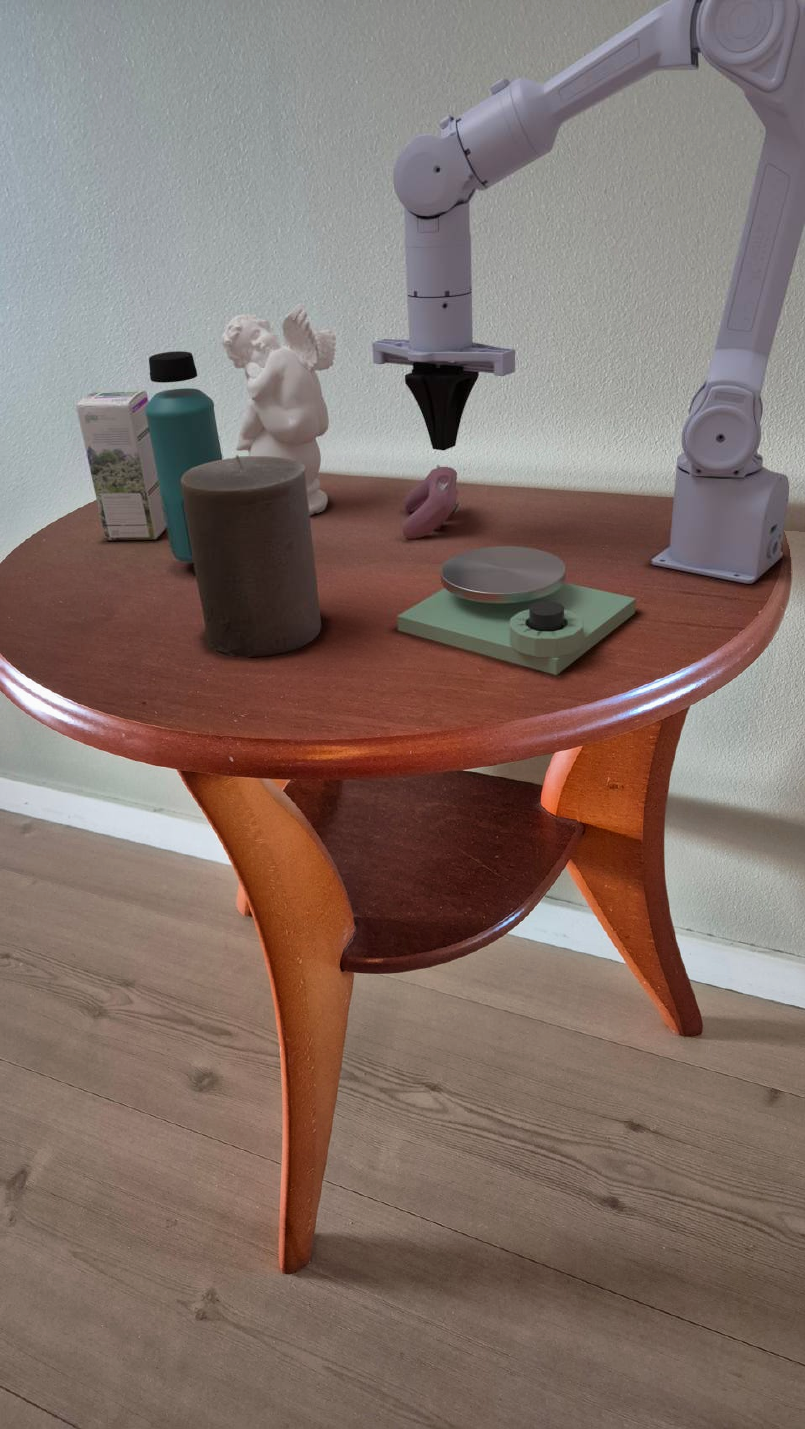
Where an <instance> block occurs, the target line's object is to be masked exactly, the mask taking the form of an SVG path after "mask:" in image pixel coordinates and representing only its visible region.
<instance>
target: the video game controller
mask: <svg viewBox="0 0 805 1429" xmlns="http://www.w3.org/2000/svg"><path fill="white" fill-rule="evenodd" d="M457 480H458V472H457V470H455V469H454V468H452V467H451V466H440V464H437V465H436V468H433V469H431V470H430V471H429V473H428V474H427V476H426V477H424V479H423V480H422V481H421V482H420V483H419V484H417V485H416V486H415V487H413V488H412V489H411V490H410V491H408V493H407V494H406V496H405V498H404V500H403V507H404V509H405V511H407V512H408V513H411V514H410V515H409V516H408V517H407V518H406V519H405V521H404V523H403V525H402V529H401V530H402V534H403V535H404V537H405V538H406V539H408V540H416V539H419V538H423V537H426V536H428V535H429V534H430V533H432V532H433V531H435V530H436V531H439V530H440V528H441V527H442V526H443V523H444V522H446V521H447V520H448V519H449V517H450V516H451V513H452V512H453V514H454V515H455V514H456V513H457V512H458V511H459V510H460V506H461V505H460V501H458V502H457V498H458V495H459V490H458V488H456V487H457Z"/></svg>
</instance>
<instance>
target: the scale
mask: <svg viewBox="0 0 805 1429" xmlns="http://www.w3.org/2000/svg"><path fill="white" fill-rule="evenodd" d="M542 601H552V602H557V603H559V604H561V605H563V606H564V627H563V629H561V630H557V631H553V632H542V631H536V630H532V629H530V627H529V608H530V606H531V605H532V604H534V603H537V602H542ZM636 606H637V598H636V597H631V596H627V595H623V594H619V593H615V592H614V593H613V592H610V591H605V590H601V589H595V588H591V587H587V586H583V585H579V584H574V583H569V582H566V581H565V582H564V584H563V585H562V587H561V588H559V589H558V590H557V591H555V592H554V593H552V594H549V595H547V596H544V597H542V598H538V599H534V600H530V601H524V602H516V603H485V602H477V601H472V600H467V599H464V598H461V597H458V596H456V595H454V594H452V593H450V592H448V591H447V590H446V589H445V588H444V587H443V588H442V589H440V590H438V591H436V593H434V594H431V595H430V596H429V597H426V598H425V599H423V600H422V601H420V602H418V603H417V604H415V605H413V606H411V607H409V608H408V609H406V610H404V611H403V612H401V613H399V614H398V615H397V616H396V618H397V620H396V621H397V630H398V631H399V632H403V633H407V634H409V635H414V636H417V637H420V638H423V639H427V640H431V641H434V642H438V643H441V644H445V645H447V646H451V647H452V646H453V647H456V648H459V649H463V650H466V651H469V652H473V653H476V654H479V655H483V656H488V657H490V658H495V659H497V660H501V661H504V662H505V661H506V662H508V663H512V664H516V665H520V666H522V667H526V668H530V669H533V670H535V671H536V670H537V671H539V672H544V673H547V674H551V675H555V676H557V675H559V674H560V673H562V671H564V670H565V669H566V668H568V667H569V666H570V665H571V664H572V663H574V662H575V661H576V660H577V659H578V658H580V657H581V656H582V655H584V654H586V653H587V651H589V650H590V649H591V648H592V647H594V646H595V645H596V644H598V643H599V642H600V641H602V640H603V639H604V638H606V637H607V636H608V635H609V634H610V633H612V632H613V631H614V630H616V629H617V628H619V626H620V625H622V624H623V623H624V622H626V621H627V620H628V619H630V618H631V617H632V616H633V615H634V614H636Z"/></svg>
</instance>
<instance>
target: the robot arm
mask: <svg viewBox="0 0 805 1429" xmlns="http://www.w3.org/2000/svg"><path fill="white" fill-rule="evenodd" d="M699 54H701V55H702V57H703V59H704V60H705V61H706V62H707V64H709V65H710V66H711V67H712V68H713V69H715V70H716V71H717V72H718V73H720V74H721V75H722V76H723V77H725V78H726V79H728V80H729V81H730V82H731V83H733V84H735V85H736V86H737V87H738V88H739V89H741V90H742V91H743V92H744V97H745V99H746V100H747V102H748V103H749V105H750V106H751V108H752V109H753V111H754V112H755V114H756V116H757V118H758V119H759V120H760V121H761V123H762V124H763V126H764V130H765V133H764V138H763V143H762V147H761V152H760V155H759V159H758V164H757V168H756V172H755V176H754V177H755V178H754V180H753V181H754V182H753V184H752V189H751V193H750V198H749V202H748V206H747V209H746V214H745V218H744V221H743V222H744V223H743V226H742V231H741V235H740V238H739V242H738V248H737V252H736V256H735V260H734V264H733V268H732V273H731V278H730V281H729V286H728V290H727V294H726V297H725V302H724V306H723V311H722V315H721V319H720V323H719V326H718V327H719V329H718V331H717V335H716V340H715V344H714V348H713V353H712V356H711V360H710V365H709V369H708V372H707V377H706V379H705V381H704V383H703V384H702V385H701V386H700V387H699V388H698V390H697V391H696V392H695V394H694V395H693V397H692V399H691V402H690V404H689V409H688V417H687V418H686V420H685V422H684V424H683V427H682V430H681V440H680V441H681V447H682V451H683V452H682V453H680V455H678V456H677V458H676V468H675V479H674V490H673V491H674V492H673V502H672V515H671V526H670V539H669V546H668V547H667V548H665V549H664V550H663V551H660V553H659V554H657V555H656V556H654V557H653V558H652V559H651V564H652V565H653V566H656V567H662V568H666V569H671V570H675V571H682V572H687V573H691V574H696V575H700V576H705V577H711V578H715V579H720V580H726V581H730V582H731V581H732V582H737V583H741V584H745V585H746V584H747V585H751V584H753V583H755V582H756V581H757V580H758V579H759V578H760V577H761V576H763V575H764V574H765V573H766V572H767V571H768V570H769V569H771V567H773V566H774V565H775V564H776V563H777V562H778V561H779V560H780V559H781V558H782V557H783V554H784V552H783V551H782V544H783V539H784V532H785V525H786V517H787V510H788V503H789V497H790V481H789V478H788V475H786V474H784V473H781V472H775V471H773V470H770V469H768V468H766V467H765V466H763V463H764V460H763V459H764V458H763V456H762V454H760V453H758V450H759V447H760V444H761V441H762V426H761V423H762V422H761V421H762V418H763V411H764V406H763V399H762V396H761V394H762V390H763V386H764V381H765V377H766V372H767V368H768V362H769V359H770V354H771V350H772V346H773V343H774V340H775V337H776V332H777V328H778V325H779V321H780V317H781V314H782V311H783V306H784V302H785V300H786V299H785V298H786V296H787V291H788V288H789V284H790V281H791V276H792V273H793V269H794V265H795V261H796V258H797V254H798V250H799V246H800V243H801V239H802V235H803V231H804V227H805V1H804V0H668V1H666V2H664V3H662V4H660V5H659V6H657V7H655V8H654V9H652V10H650V12H648V13H646V14H645V15H643V16H642V17H640V18H639V19H637V20H636V21H635V22H633V23H632V24H630V25H628V26H627V27H625V28H624V29H623V30H621V31H620V32H618V33H617V34H615V35H614V36H613V37H611V38H609V39H608V40H607V41H605V42H603V43H602V44H600V45H599V46H598V47H596V48H595V49H593V50H591V51H590V52H589V53H587V54H586V55H585V56H583V57H581V58H580V59H578V60H577V61H576V62H574V63H573V64H570V65H569V66H568V67H567V68H565V69H563V71H561V72H559V73H558V74H556V75H555V76H553V77H552V78H550V79H549V80H547V81H546V82H544V83H540V82H538V81H535V80H532V79H530V78H528V77H523V76H520V77H518V78H517V79H515V80H513V81H512V82H510V79H509V78H505V77H502V78H500V79H499V80H497V81H496V82H494V83H492V84H491V85H490V86H489V87H490V88H489V89H490V91H491V94H492V95H491V96H489V97H487V98H486V99H484V100H483V101H481V102H479V103H478V104H476V105H474V106H473V107H471V108H470V109H469V110H467V111H465V112H464V113H462V114H460V115H459V116H457V117H456V118H455V117H454V116H453V115H446V117H444V118H442V119H441V120H439V123H438V124H439V127H440V135H436V134H431V133H424V134H418V135H416V136H414V137H413V138H412V139H411V141H410V142H409V143H408V144H407V145H405V147H403V149H402V150H401V151H400V152H399V154H398V156H397V157H396V160H395V163H394V166H393V170H392V184H393V187H394V192H395V194H396V196H397V199H398V201H399V202H400V204H401V205H402V206H403V216H404V218H403V220H404V255H405V256H404V257H405V278H406V300H407V322H408V339H394V338H383V339H379V340H376V341H372V342H371V347H372V348H371V349H372V362H373V364H374V365H384V364H393V365H394V364H395V365H403V366H404V365H405V366H412V368H411V372H409V373H407V374H405V375H404V383H405V385H406V386H407V388H408V389H409V391H410V392H411V394H412V396H413V398H414V400H415V401H416V404H417V406H418V408H419V410H420V412H421V415H422V417H423V419H424V423H425V427H426V430H427V434H428V436H429V440H430V444H431V447H432V449H433V450H437V451H446V450H449V449H452V448H453V447H456V445H457V439H458V435H459V430H460V426H461V421H462V416H463V413H464V410H465V408H466V404H467V403H468V402H467V401H468V399H469V397H470V394H471V393H472V390H473V388H474V386H475V384H476V382H477V380H478V379H479V376H480V373H488V374H493V375H494V376H495V377H506V376H508V375H510V374H513V373H515V372H516V349H514V348H507V347H506V348H505V347H500V346H495V345H490V344H484V343H479V342H474V340H473V338H474V337H473V289H472V288H473V283H472V282H473V281H472V279H473V278H472V276H473V275H472V233H471V226H470V225H471V220H470V218H471V217H470V202H471V201H472V199H473V197H474V196H475V193H477V192H476V191H482V192H483V191H486V190H488V189H489V188H491V187H492V186H494V185H496V184H497V183H499V182H501V181H503V180H504V179H506V178H508V177H509V176H511V175H512V174H514V173H516V172H518V171H520V170H521V169H523V168H525V167H526V166H528V165H530V164H532V163H533V162H535V161H536V160H538V159H540V158H541V157H544V156H545V155H547V154H549V153H550V152H551V151H552V150H553V148H554V145H555V142H556V139H557V137H558V136H557V135H558V133H559V131H560V129H561V126H562V125H563V124H564V123H566V122H568V121H569V120H571V119H573V118H575V117H577V116H579V115H581V114H582V113H584V112H585V111H587V110H589V109H591V108H593V107H594V106H597V105H598V104H600V103H602V102H603V101H605V100H607V99H609V98H611V97H613V96H614V95H617V94H618V93H619V92H621V91H623V90H625V89H627V88H629V87H631V86H632V85H634V84H636V83H638V82H639V81H641V80H643V79H645V78H647V77H648V76H650V75H652V74H654V73H656V72H659V71H699V68H700V64H699Z"/></svg>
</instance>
